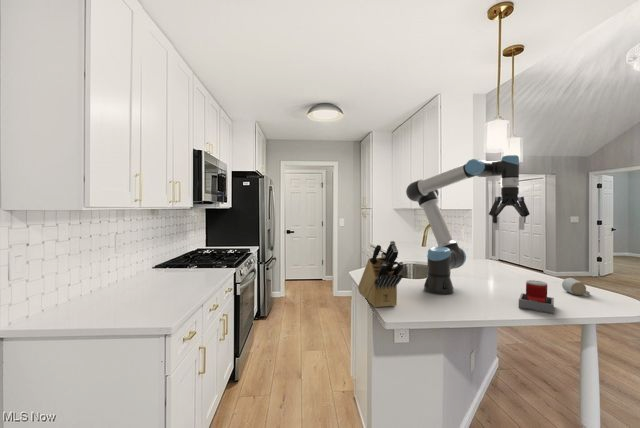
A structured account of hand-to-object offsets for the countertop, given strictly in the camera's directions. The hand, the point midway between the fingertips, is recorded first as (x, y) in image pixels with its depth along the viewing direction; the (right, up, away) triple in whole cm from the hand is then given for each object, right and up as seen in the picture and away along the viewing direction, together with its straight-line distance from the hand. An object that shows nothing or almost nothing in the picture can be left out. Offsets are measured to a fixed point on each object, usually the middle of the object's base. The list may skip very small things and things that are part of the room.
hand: (509, 229), depth 153 cm
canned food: (+5, -35, -12) cm, 37 cm away
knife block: (-65, -35, -4) cm, 74 cm away
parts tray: (+5, -35, -11) cm, 37 cm away
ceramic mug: (+42, -35, +10) cm, 56 cm away
